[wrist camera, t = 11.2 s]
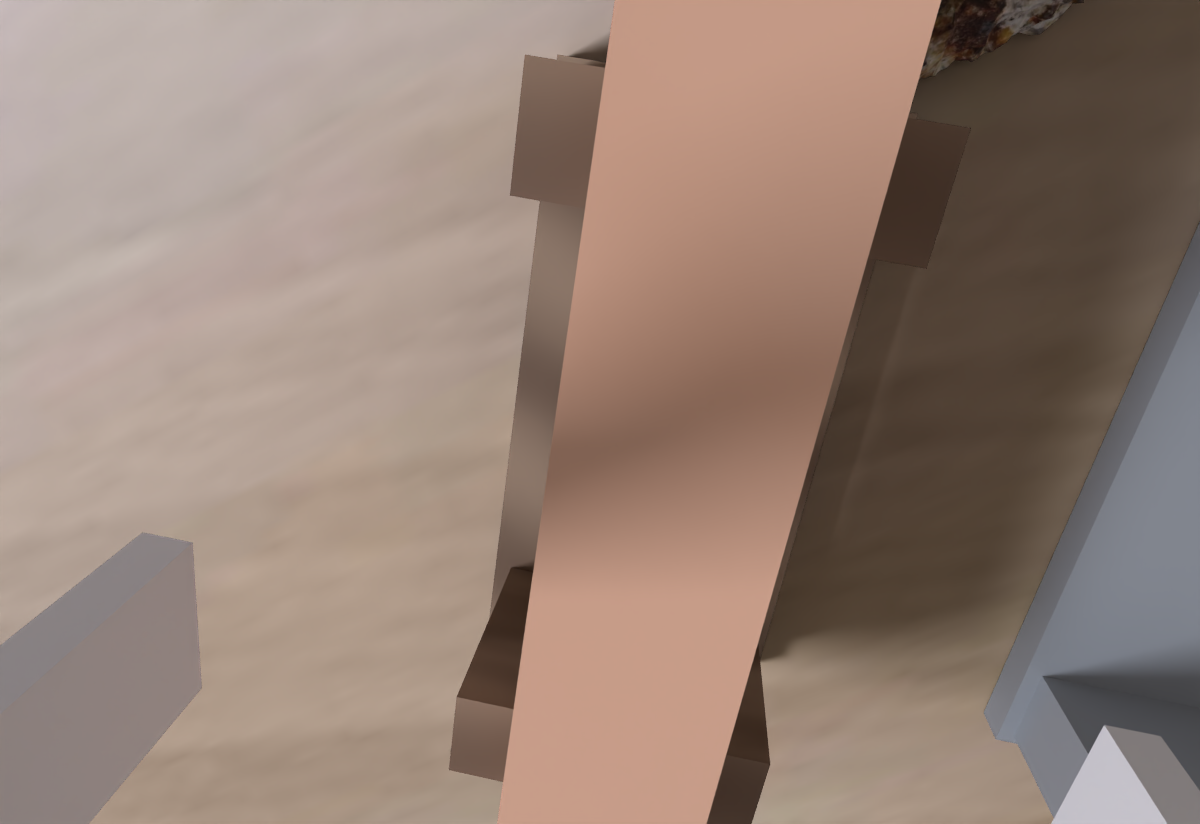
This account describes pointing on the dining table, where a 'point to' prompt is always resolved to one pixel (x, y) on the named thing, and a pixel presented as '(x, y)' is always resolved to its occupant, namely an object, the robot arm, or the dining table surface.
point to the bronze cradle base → (560, 182)
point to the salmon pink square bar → (696, 381)
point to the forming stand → (1122, 577)
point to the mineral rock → (984, 27)
